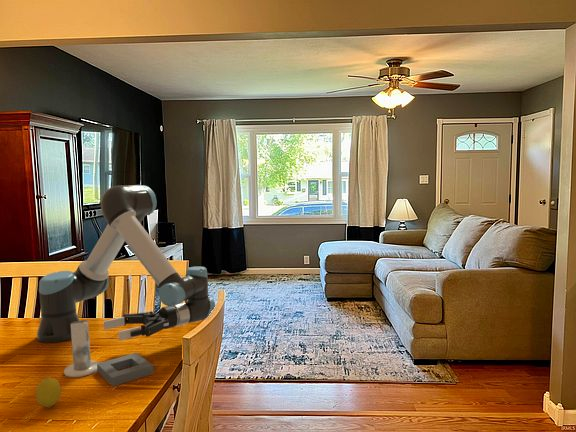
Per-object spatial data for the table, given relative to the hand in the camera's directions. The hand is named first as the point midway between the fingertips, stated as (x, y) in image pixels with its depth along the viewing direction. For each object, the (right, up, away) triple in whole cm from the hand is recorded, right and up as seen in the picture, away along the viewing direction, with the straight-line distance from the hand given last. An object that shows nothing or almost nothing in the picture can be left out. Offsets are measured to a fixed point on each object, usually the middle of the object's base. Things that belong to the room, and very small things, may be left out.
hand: (111, 330), depth 139 cm
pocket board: (+7, -11, -8) cm, 15 cm away
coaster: (-7, -11, -5) cm, 14 cm away
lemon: (-5, -13, -27) cm, 30 cm away
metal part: (-7, -10, -5) cm, 13 cm away
